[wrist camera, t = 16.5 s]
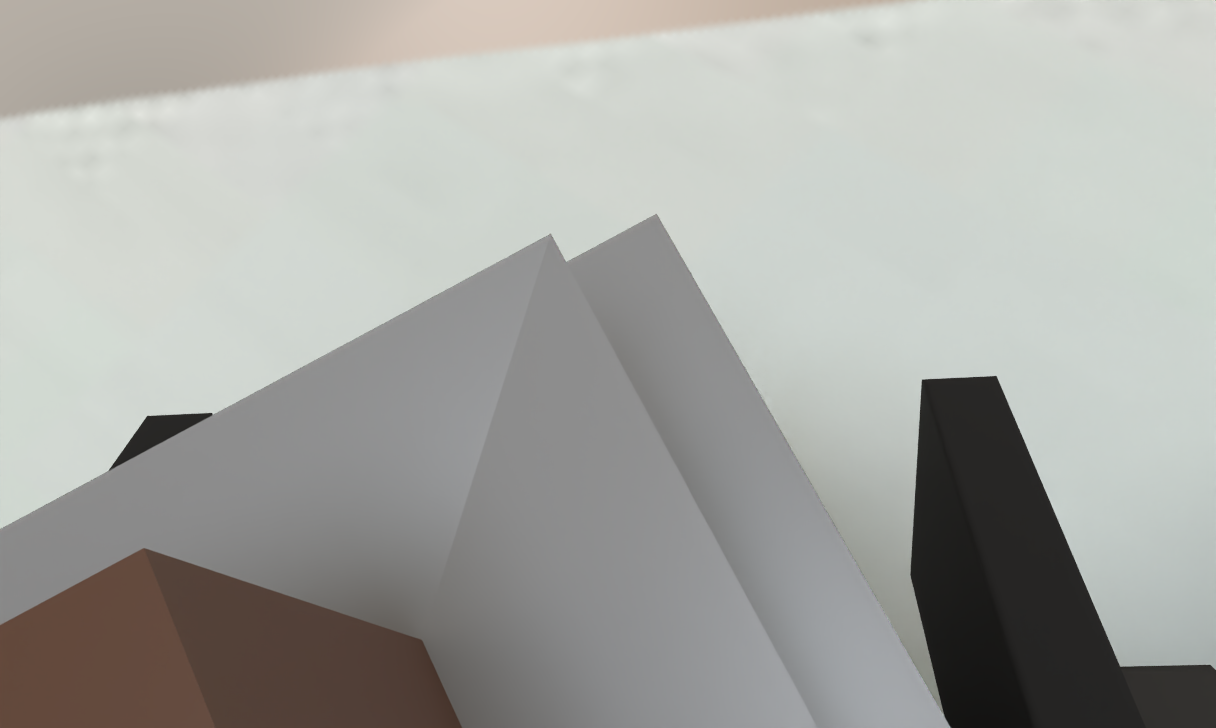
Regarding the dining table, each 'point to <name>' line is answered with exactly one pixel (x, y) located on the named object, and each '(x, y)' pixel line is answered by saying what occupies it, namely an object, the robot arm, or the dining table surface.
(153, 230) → the dining table surface
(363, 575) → the perfume bottle
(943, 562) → the robot arm
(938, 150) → the dining table surface
